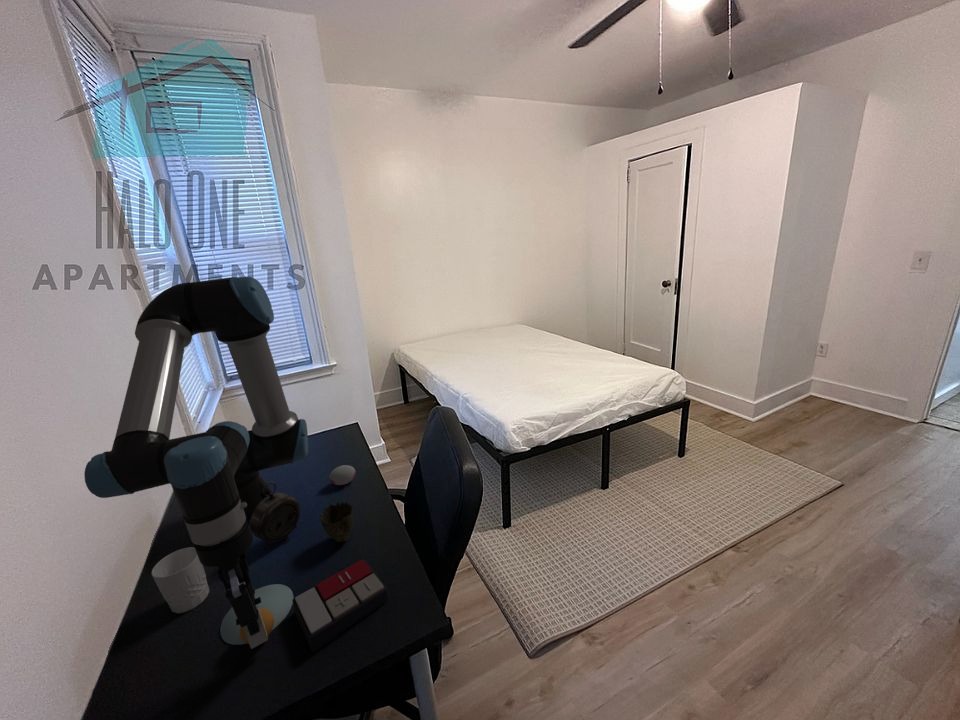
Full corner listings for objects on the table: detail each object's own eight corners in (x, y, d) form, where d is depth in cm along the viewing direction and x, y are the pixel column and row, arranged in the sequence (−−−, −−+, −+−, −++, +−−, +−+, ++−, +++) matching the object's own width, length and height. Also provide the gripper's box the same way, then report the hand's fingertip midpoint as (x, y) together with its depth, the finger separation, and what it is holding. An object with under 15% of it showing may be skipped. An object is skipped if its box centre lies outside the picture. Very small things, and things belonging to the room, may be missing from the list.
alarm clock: (296, 522, 103) (281, 469, 99) (309, 527, 101) (294, 473, 96) (256, 550, 95) (238, 494, 90) (269, 558, 92) (251, 499, 87)
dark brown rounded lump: (348, 551, 91) (341, 523, 89) (320, 548, 93) (313, 521, 91) (363, 528, 98) (357, 502, 96) (337, 526, 100) (330, 500, 98)
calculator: (387, 585, 77) (308, 635, 68) (390, 603, 78) (312, 654, 69) (364, 555, 85) (290, 595, 76) (366, 571, 86) (294, 613, 77)
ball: (243, 649, 72) (235, 618, 73) (275, 631, 75) (267, 601, 76) (245, 653, 67) (237, 619, 69) (279, 633, 71) (271, 602, 72)
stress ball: (356, 485, 123) (351, 464, 125) (359, 482, 116) (354, 460, 118) (331, 493, 120) (326, 472, 121) (333, 491, 113) (327, 468, 114)
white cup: (177, 622, 77) (160, 583, 74) (161, 606, 82) (144, 568, 79) (219, 592, 84) (205, 554, 81) (202, 578, 88) (188, 542, 85)
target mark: (213, 615, 78) (213, 614, 78) (281, 574, 87) (280, 574, 86) (229, 659, 69) (229, 659, 69) (303, 609, 77) (302, 608, 77)
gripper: (250, 541, 59) (287, 656, 66) (244, 502, 70) (277, 604, 76) (191, 567, 56) (237, 686, 62) (194, 521, 66) (233, 627, 73)
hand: (259, 641), depth 69 cm, fingers closed
